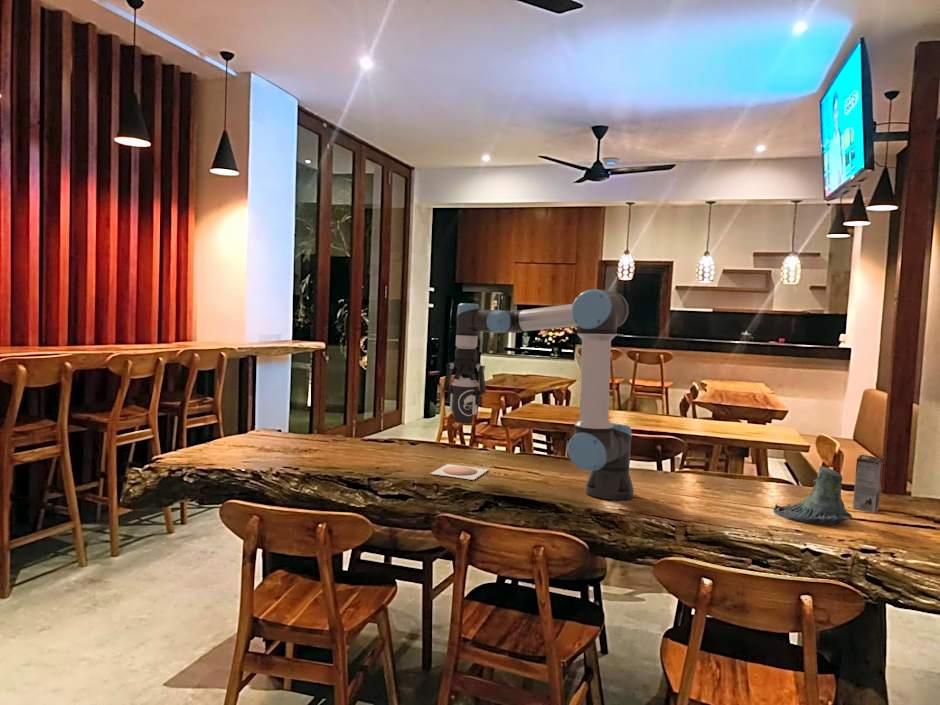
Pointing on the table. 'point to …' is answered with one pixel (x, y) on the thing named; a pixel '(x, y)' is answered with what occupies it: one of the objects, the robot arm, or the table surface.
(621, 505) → the table surface
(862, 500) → the coffee box
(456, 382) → the coffee cup
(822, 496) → the tree stump
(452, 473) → the coaster mat
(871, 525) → the table surface
